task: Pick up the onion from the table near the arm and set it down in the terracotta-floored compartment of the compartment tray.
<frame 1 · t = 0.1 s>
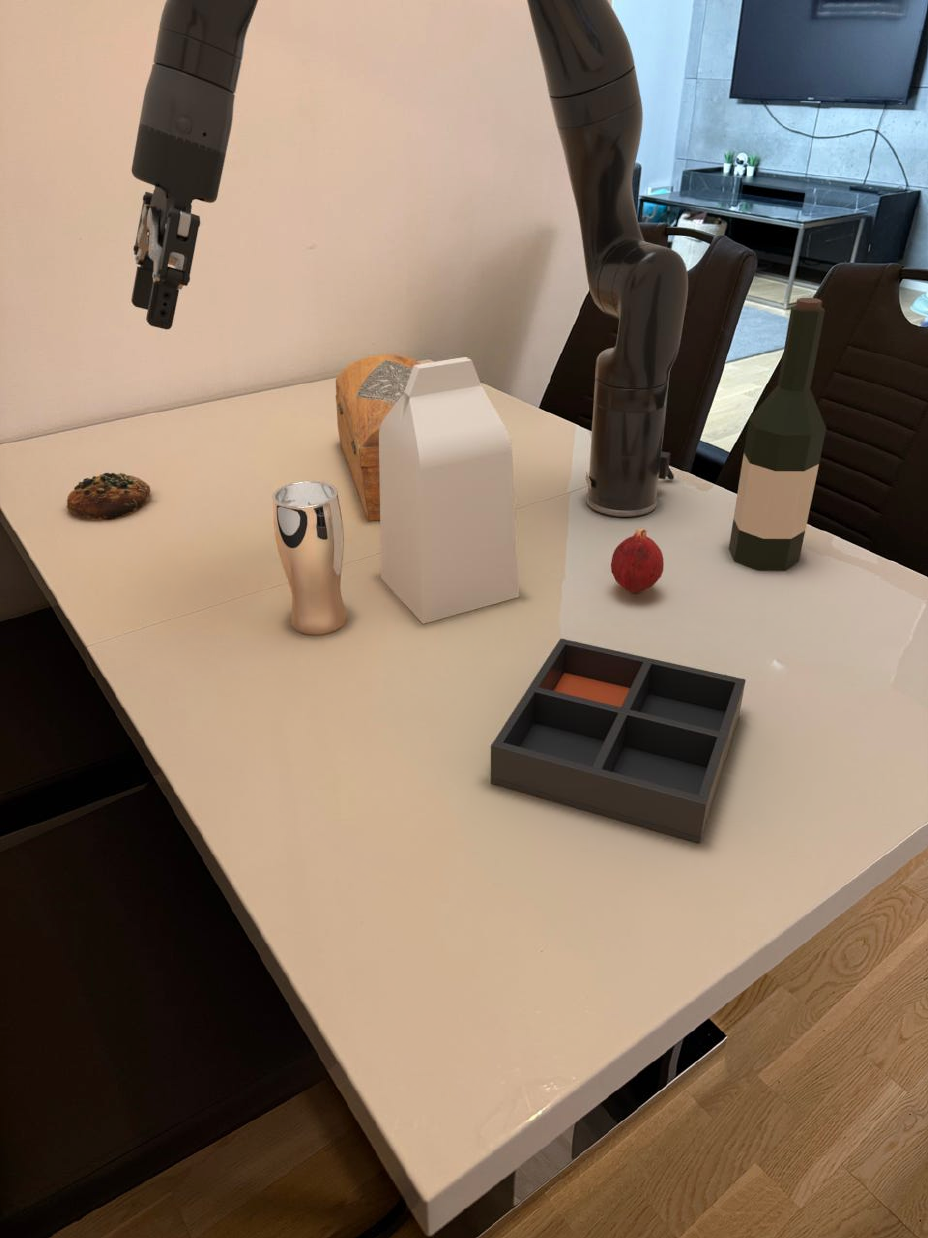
hand: (150, 316, 87), 31 cm above the table, tool tilted 20°, fingers open, 8 cm apart
wine bottle: (763, 556, 111), on the table
beer glass: (319, 621, 100), on the table
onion: (634, 594, 104), on the table
wooden box: (405, 475, 134), on the table
bread roll: (110, 505, 127), on the table
compartment tray: (620, 747, 81), on the table
milk: (448, 589, 106), on the table
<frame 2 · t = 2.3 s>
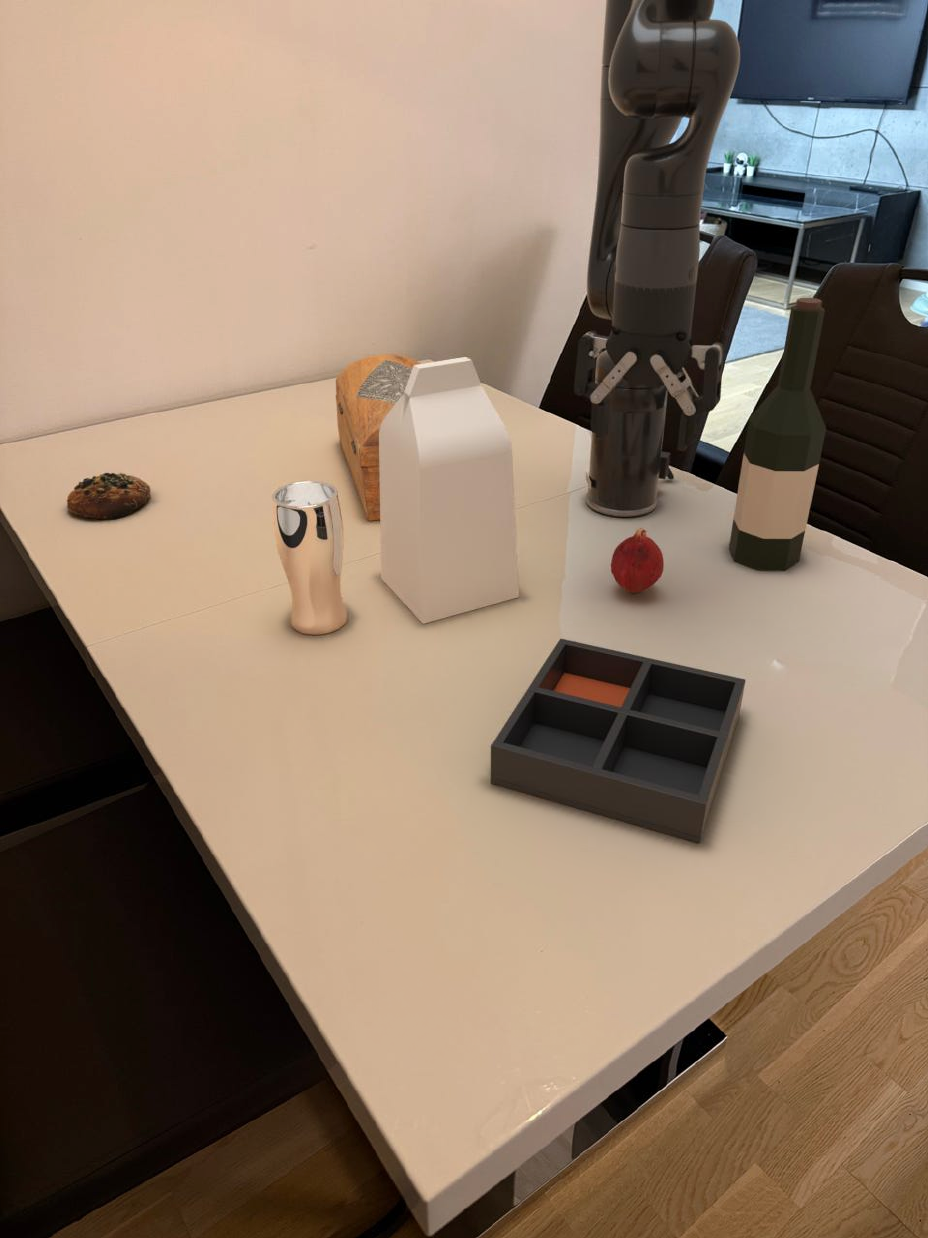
hand: (641, 442, 94), 18 cm above the table, tool pointing down, fingers open, 8 cm apart
nothing on the table moved.
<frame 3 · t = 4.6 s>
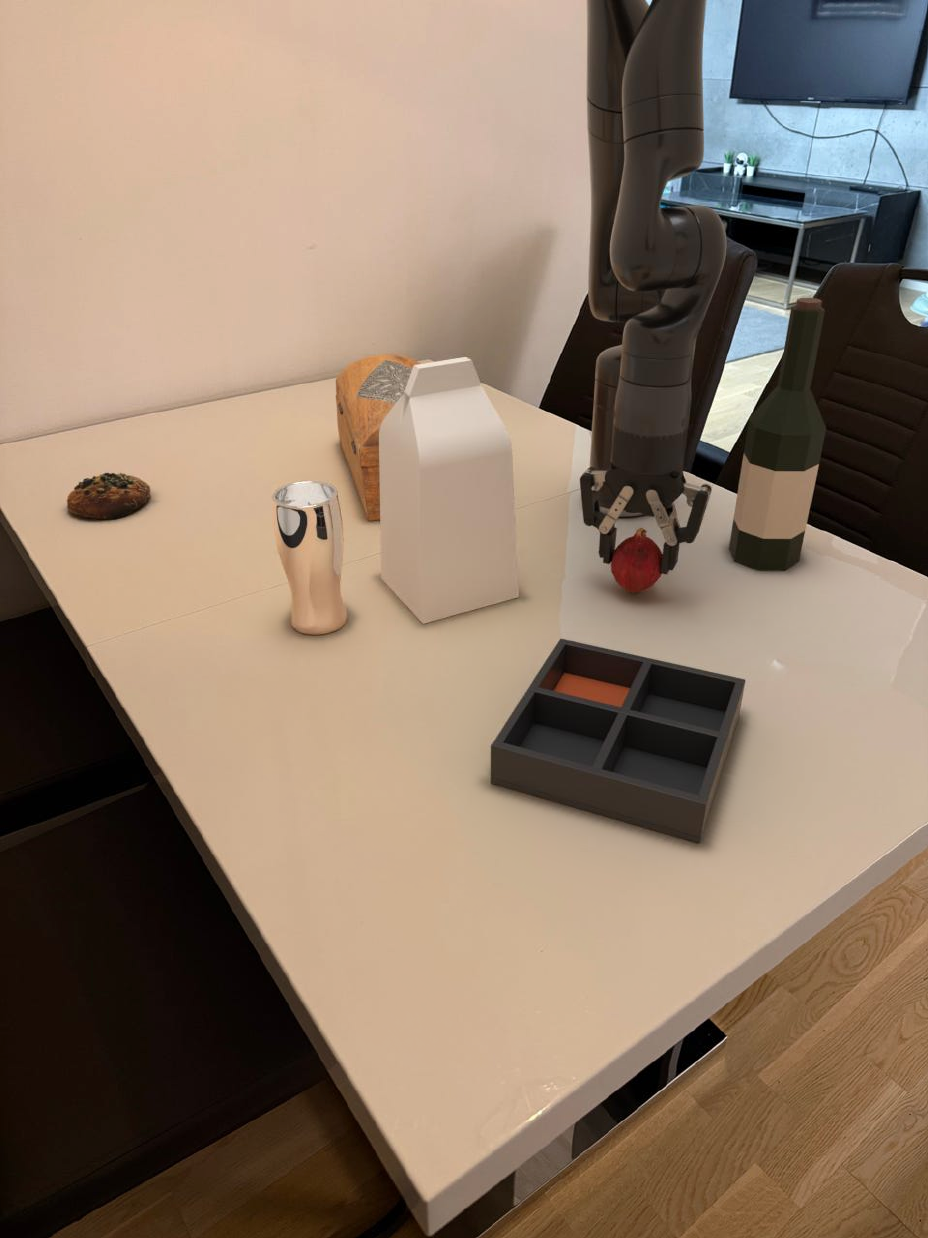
hand: (636, 565, 102), 4 cm above the table, tool pointing down, fingers closed on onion, 6 cm apart
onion: (634, 594, 104), on the table, touching gripper
everything else where it was.
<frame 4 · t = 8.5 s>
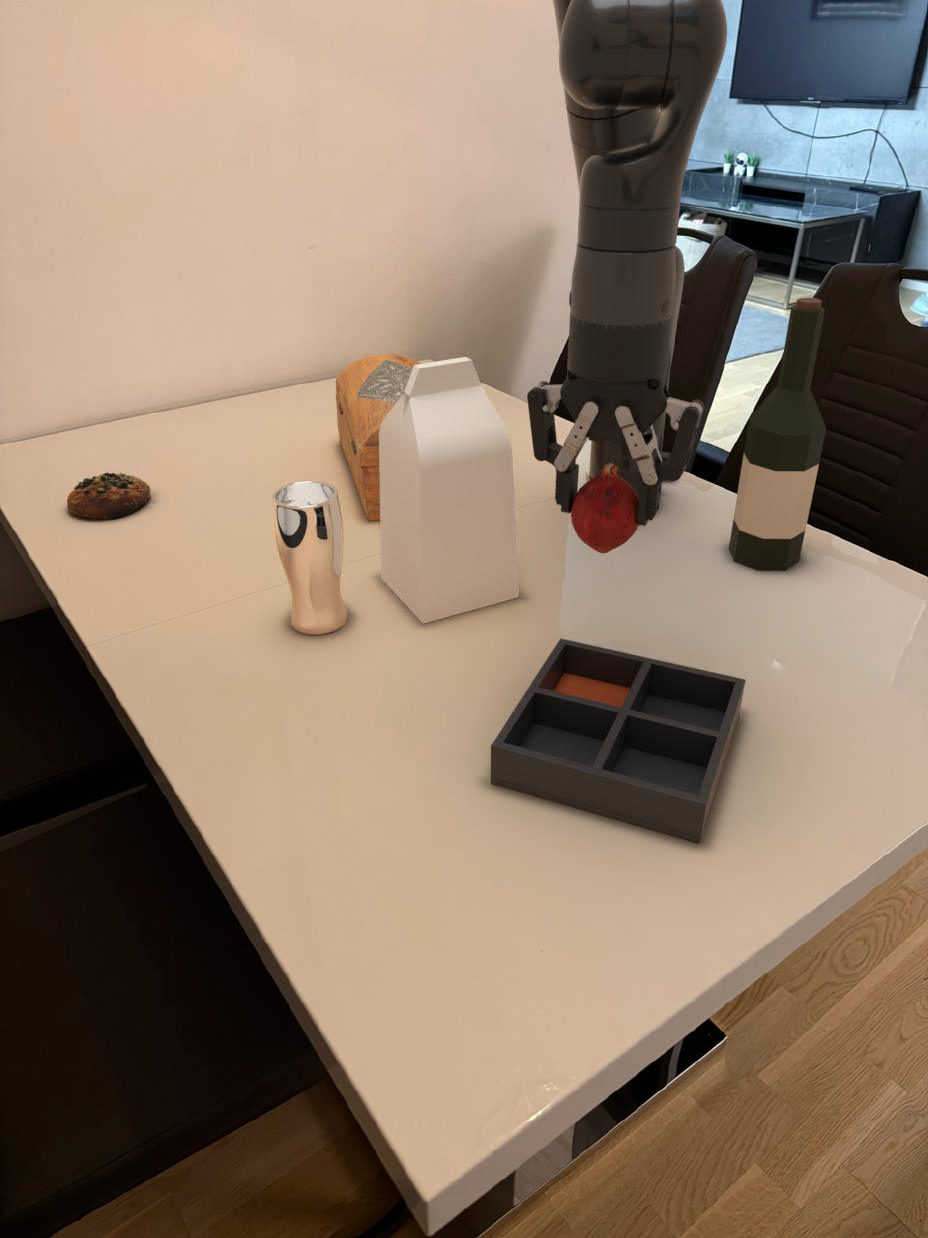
hand: (605, 514, 77), 19 cm above the table, tool pointing down, fingers closed on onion, 6 cm apart
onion: (602, 554, 79), point 16 cm above the table, touching gripper
everything else where it was.
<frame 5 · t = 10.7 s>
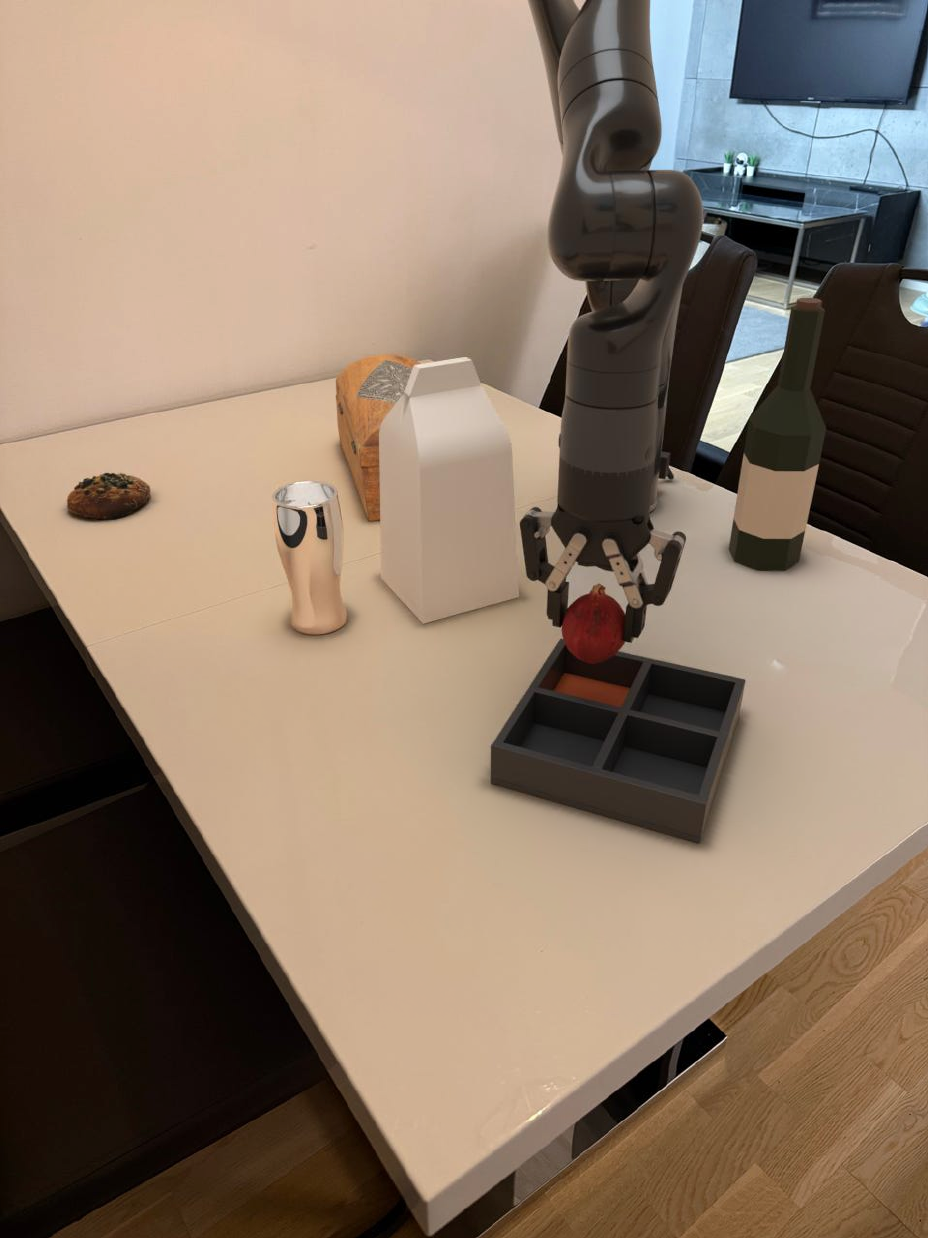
hand: (594, 629, 81), 9 cm above the table, tool pointing down, fingers closed on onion, 6 cm apart
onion: (591, 664, 83), point 5 cm above the table, touching gripper
everything else where it was.
when the fingers open (4 cm above the table, at t = 12.3 s): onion stays where it is, resting on compartment tray.
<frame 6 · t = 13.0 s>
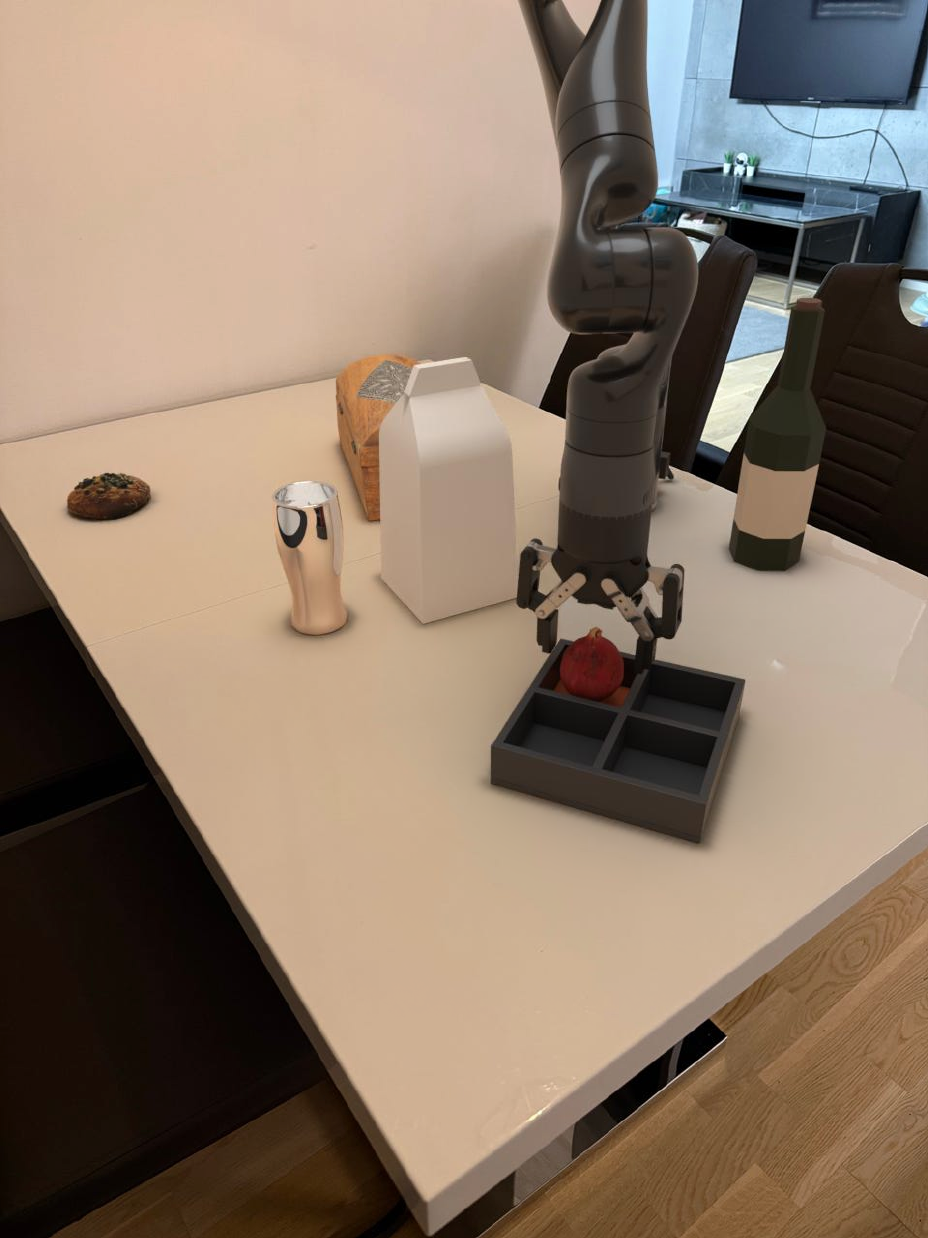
hand: (593, 658, 83), 6 cm above the table, tool pointing down, fingers open, 8 cm apart
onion: (589, 703, 85), point 1 cm above the table, touching compartment tray
everything else where it was.
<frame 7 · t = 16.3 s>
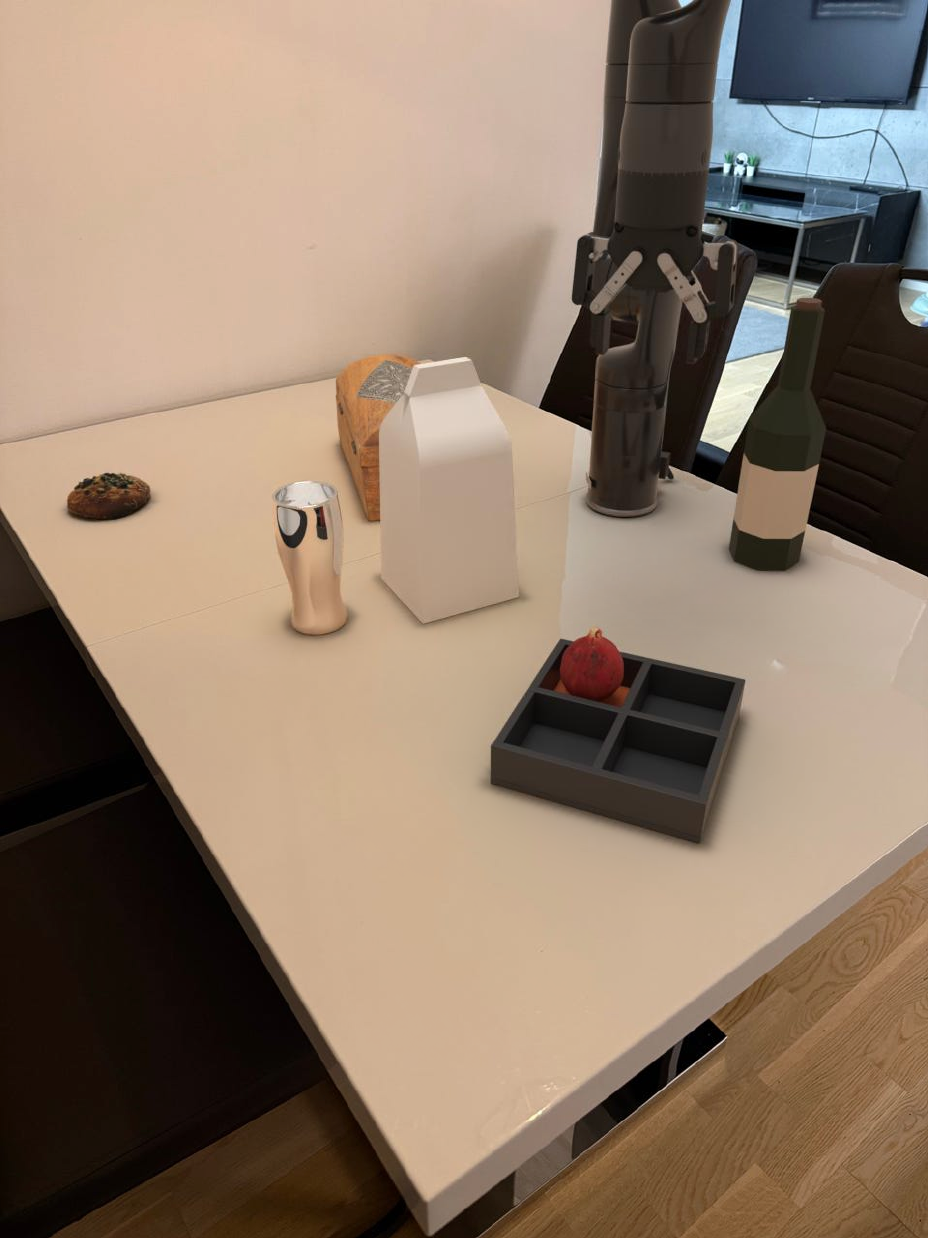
hand: (645, 357, 85), 28 cm above the table, tool pointing down, fingers open, 8 cm apart
nothing on the table moved.
at the end: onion inside the target area in the compartment tray (0.1 cm from its centre), point 0.6 cm above the compartment tray's base; the gripper is holding nothing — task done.
